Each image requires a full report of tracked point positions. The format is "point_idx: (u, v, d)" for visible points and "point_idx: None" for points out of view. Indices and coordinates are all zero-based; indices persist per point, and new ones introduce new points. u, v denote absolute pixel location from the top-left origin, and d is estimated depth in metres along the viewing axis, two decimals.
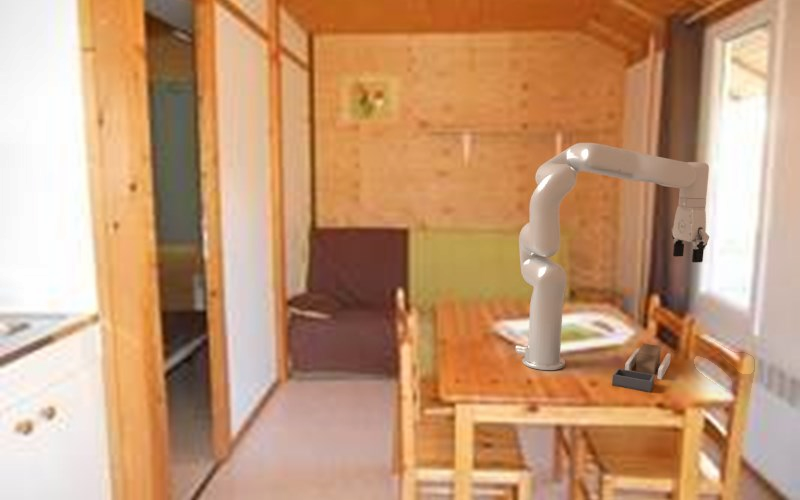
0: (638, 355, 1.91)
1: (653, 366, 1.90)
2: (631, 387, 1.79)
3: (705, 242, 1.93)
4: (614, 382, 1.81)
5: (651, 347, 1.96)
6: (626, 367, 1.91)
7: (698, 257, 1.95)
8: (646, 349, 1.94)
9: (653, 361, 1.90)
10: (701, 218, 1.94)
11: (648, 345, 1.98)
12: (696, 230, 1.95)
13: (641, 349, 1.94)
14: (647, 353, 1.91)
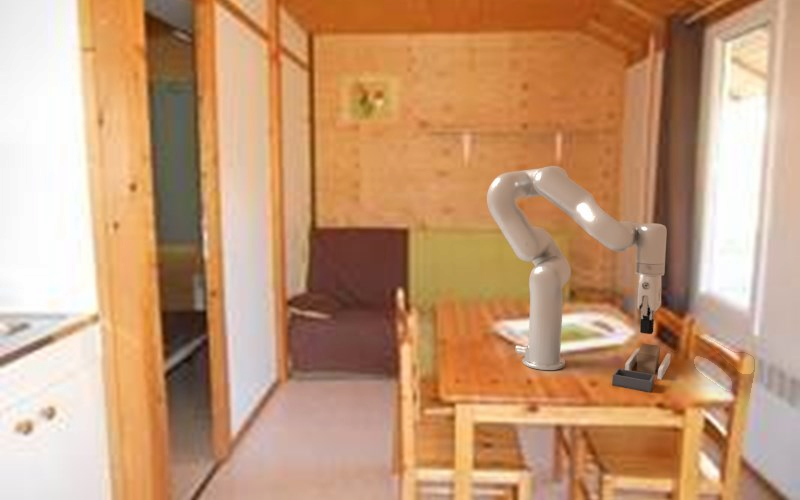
0: (639, 355, 1.91)
1: (654, 366, 1.90)
2: (631, 387, 1.79)
3: None
4: (614, 382, 1.81)
5: (651, 347, 1.96)
6: (626, 367, 1.91)
7: None
8: (646, 349, 1.94)
9: (654, 361, 1.90)
10: None
11: (647, 345, 1.98)
12: None
13: (641, 349, 1.94)
14: (648, 353, 1.91)
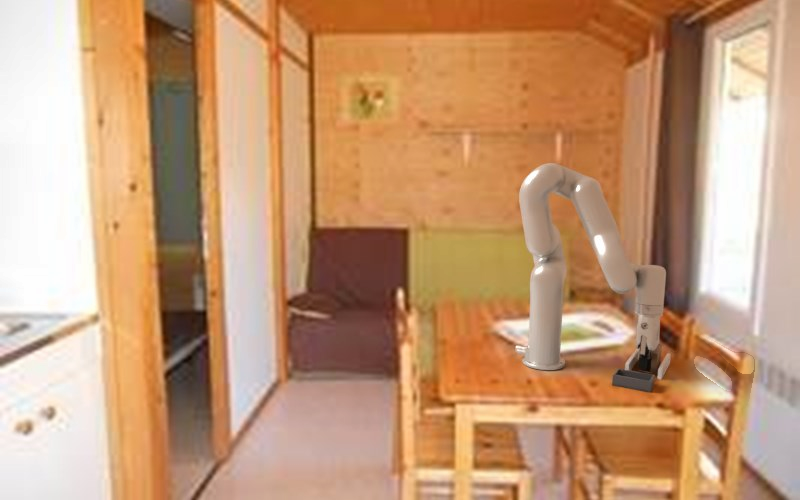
0: None
1: (655, 364, 1.91)
2: (631, 387, 1.79)
3: None
4: (614, 382, 1.81)
5: None
6: (626, 367, 1.91)
7: None
8: None
9: (655, 359, 1.91)
10: None
11: None
12: None
13: None
14: None
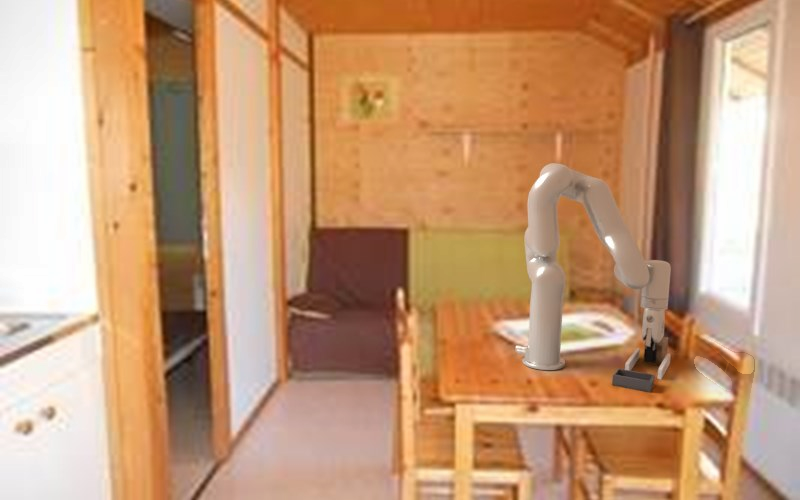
0: None
1: (660, 356, 1.98)
2: (631, 387, 1.79)
3: None
4: (614, 382, 1.81)
5: None
6: (626, 367, 1.91)
7: None
8: None
9: (660, 351, 1.98)
10: None
11: None
12: None
13: None
14: None
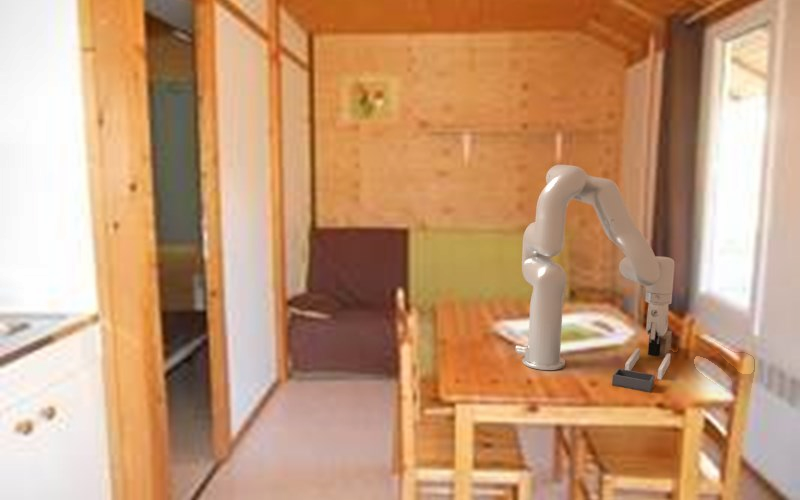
0: None
1: (664, 349, 2.05)
2: (631, 387, 1.79)
3: None
4: (614, 382, 1.81)
5: None
6: (626, 367, 1.91)
7: None
8: None
9: (664, 344, 2.04)
10: None
11: None
12: None
13: None
14: None
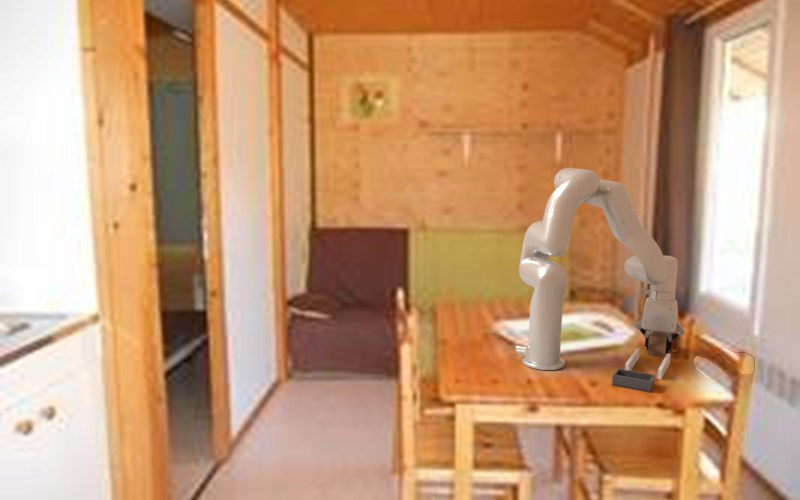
0: (650, 339, 2.06)
1: (664, 349, 2.05)
2: (631, 387, 1.79)
3: (679, 335, 2.05)
4: (614, 382, 1.81)
5: (661, 332, 2.11)
6: (626, 367, 1.91)
7: (670, 348, 2.07)
8: (657, 333, 2.09)
9: (664, 344, 2.05)
10: (677, 309, 2.05)
11: None
12: (676, 321, 2.04)
13: (652, 333, 2.09)
14: (658, 337, 2.06)
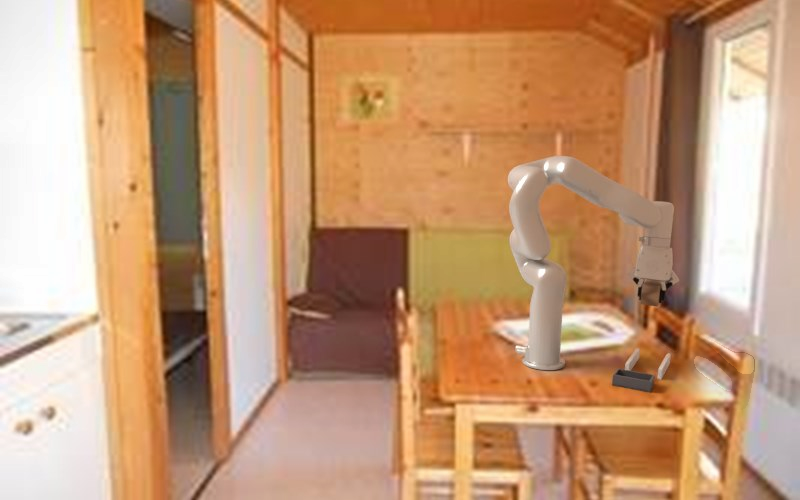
0: (643, 287, 1.99)
1: (657, 297, 1.98)
2: (631, 387, 1.79)
3: (673, 284, 1.98)
4: (614, 382, 1.81)
5: (655, 282, 2.04)
6: (626, 367, 1.91)
7: (664, 297, 2.00)
8: (650, 283, 2.02)
9: (657, 293, 1.98)
10: (672, 257, 1.98)
11: (651, 280, 2.06)
12: (671, 269, 1.97)
13: (645, 283, 2.02)
14: (651, 285, 1.99)
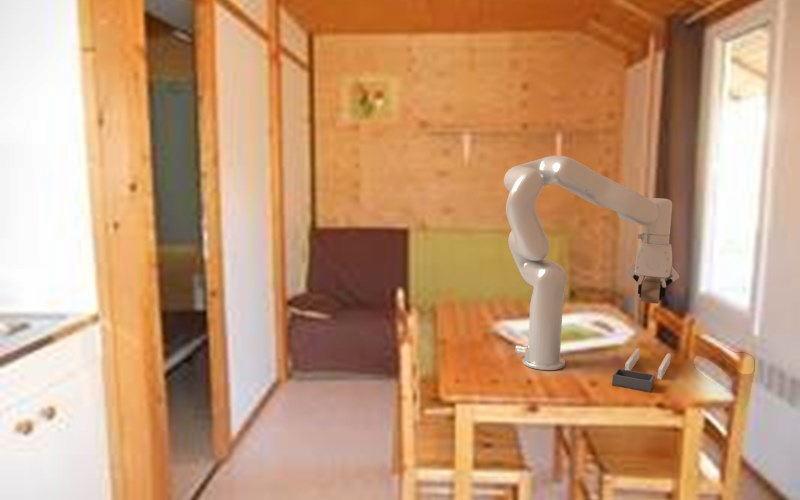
0: (643, 285, 1.99)
1: (657, 295, 1.97)
2: (631, 387, 1.79)
3: (673, 280, 1.98)
4: (614, 382, 1.81)
5: (655, 279, 2.03)
6: (626, 367, 1.91)
7: (664, 294, 1.99)
8: (650, 280, 2.02)
9: (657, 290, 1.97)
10: None
11: (652, 277, 2.05)
12: (671, 266, 1.96)
13: (645, 280, 2.02)
14: (651, 282, 1.98)
